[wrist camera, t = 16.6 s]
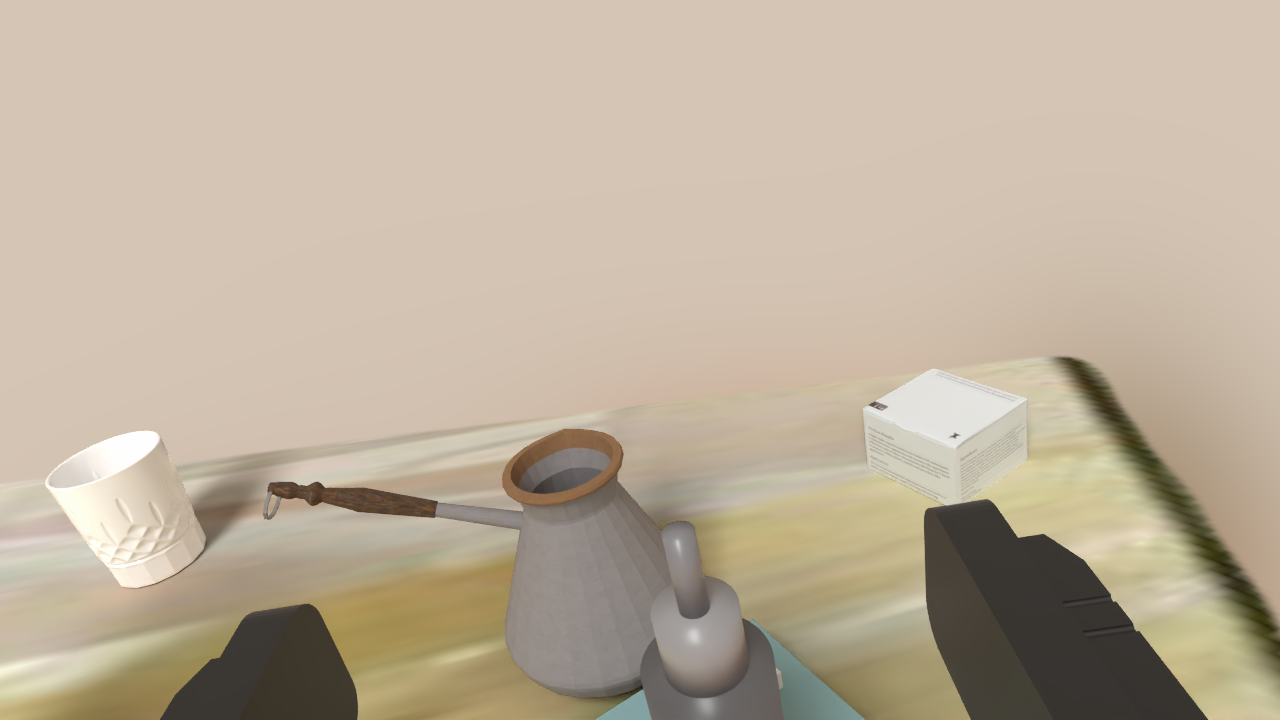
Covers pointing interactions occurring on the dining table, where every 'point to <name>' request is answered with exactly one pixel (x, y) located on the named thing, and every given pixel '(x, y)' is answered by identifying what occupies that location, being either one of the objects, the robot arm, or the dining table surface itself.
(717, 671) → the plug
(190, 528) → the white cup
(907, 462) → the small box
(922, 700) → the dining table surface
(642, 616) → the coffee pot
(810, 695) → the socket plate
